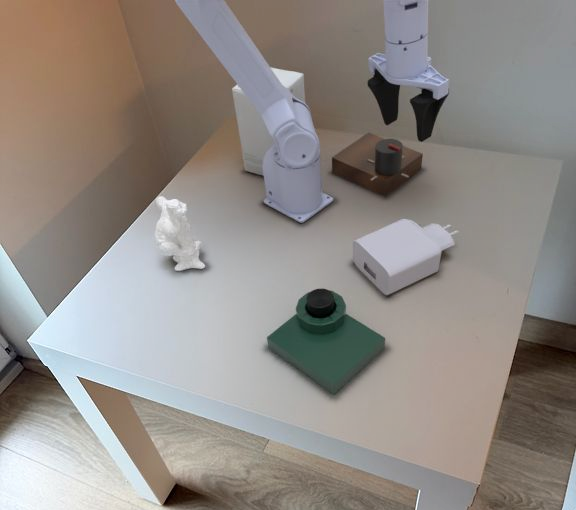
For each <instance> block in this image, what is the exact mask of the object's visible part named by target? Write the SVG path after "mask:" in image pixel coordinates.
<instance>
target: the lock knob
mask: <svg viewBox="0 0 576 510" xmlns="http://www.w3.org/2000/svg"><path fill="white" fill-rule="evenodd" d="M403 146H404V145H403V142H402V141H400V140H398V139H396V138H384V140H381V141H379V142H378V143H377V144H376V146H375V171H376V172H377V173H378V174H380V175H385V176H390V175H394V174H397V173H398V172H399V171H400V170H401V163H402V150H403Z"/></svg>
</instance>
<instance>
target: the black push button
mask: <svg viewBox="0 0 576 510" xmlns="http://www.w3.org/2000/svg"><path fill="white" fill-rule="evenodd" d="M329 290H330V289H327V288H321V287H320V288H315V289H313V290H311V291H309V292H310V293H309V294H308V295H307V298H306V300H307V310H308V313H309V314H310V315H311V316H312V317H314V318H320V319H322V318H326V317H329V316H330V315H331V314H332V313H333V312H334V295H333V293H332V292H331V291H332V290H330V291H329Z"/></svg>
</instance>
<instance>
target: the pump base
mask: <svg viewBox="0 0 576 510" xmlns="http://www.w3.org/2000/svg"><path fill="white" fill-rule="evenodd" d="M328 290H329V291H331V292H332V293H333V295H334V312H333V313H332V314H331V315H330V316H329V317H326V318H322V319H320V318H314V317H312V316H311V315H310V314H309V313H308V310H307V300H306V298H307V295H308V294H309V293H310V292H311V291H308V292H306V293H305V294H304V295H303V296H301V297H300V298H299V299H298V301H297V302H296V306H295V314H294V315H293V316H291V317H290V318H289V319H288V320H286V321H285V322H284V323H283V324H281V325H280V326H278V327H277V329H275V330H273V332H272V333H270V334H269V335H268V336H266V341H267V345H268V348H269V350H270V351H273V353H275V354H277V355H278V356H279V357H281V358H282V359H283V360H285V361H286V362H287V363H289V364H290V365H292V366H293V367H295V368H296V369H298V370H299V371H300V372H301V373H303V374H304V375H306V376H307V377H308V378H310V379H311V380H312V381H314V383H317V384H318V385H320V386H321V387H322V388H324V389H325V390H326V391H328V392H329V393H331V394H332V395H336V394H337V393H338V392H339V391H340V390H341V389H342V388H344V387H345V386H346V385H347V384H348V383H349V382H350V381H352V379H353V378H354V377H356V375H357V374H359V373H360V372H361V371H362V370H363V369H364V368H365V367H366V366H367V365H369V364H370V362H372V361H373V360H374V359H376V357H377V356H378V355H380V353H382V352H383V351H385V348H386V347H385V346H386V337H385V336H383V335H382V334H380V333H378V332H376V331H375V330H373V329H371V328H370V327H369V326H367V325H365V324H363V323H362V322H361V321H359V320H357V319H355V318H354V317H352V316H350V314H348V313H347V304H346V302H345V300H344V298H343V296H342V295H340V294H339V293H337V292H335V291H333V290H330V289H328Z"/></svg>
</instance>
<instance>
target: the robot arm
mask: <svg viewBox="0 0 576 510" xmlns="http://www.w3.org/2000/svg"><path fill="white" fill-rule="evenodd" d="M174 1H175V4H176V5H177V6H178V8H179V9H180V11H181V12H182V13H183V15H184V16H185V17H186V18H187V19H188V21H189V22H190V24H191V25H192V26H193V28H194V29H195V30H196V32H197V33H198V34H199V36H200V37H201V39H203V41H204V42H205V44H207V46H208V47H209V49H210V50H211V51H212V53H213V54H214V56H215V57H216V58H217V60H218V61H219V62H220V64H221V65H222V66H223V67H224V69H225V70H226V71H227V73H228V74H229V75H230V76H231V78H232V79H233V81H234V82H235V84H236V85H237V84H238V86H239V87H240V88H241V90H242V91H243V92H244V94H245V95H246V96H247V98H248V99H249V100H250V102H251V103H252V104H253V106H254V107H255V108H256V110H257V111H258V112H259V113H260V115H261V117H262V119H263V121H264V123H265V125H266V127H267V130H268V132H269V134H270V136H271V137H272V138H273V140H274V141H275V143H276V145H274V146H272V147H271V148H270V149H269V150H268V151H267V153H266V155H265V157H264V160H263V175H264V176H263V175H262V176H263V180H264V187H265V194H266V198H264V199H263V204H265V205H266V206H269V207H271V208H272V209H274V210H276V211H278V212H280V213H281V214H283V215H285V216H287V217H289V218H290V219H293V221H296V222H298V223H300V224H303V223H305V222H306V221H308V220H309V219H310V218H312V217H313V216H314V215H316V214H317V213H319V212H320V211H321V210H323V209H324V208H325V207H327V206H329V204H331V203H332V202H334V197H332V196H330V195H329V194H326V193H325V192H323V186H322V185H323V183H322V167H321V166H322V165H321V150H320V149H321V143H320V139H319V136H318V134H317V133H316V129H315V125H314V123H313V115H312V112H311V109H310V107H309V105H308V104H307V103H306V102H305V103H304V102H303V101H301V100H299V99H297V98H295V97H294V96H293V95H292V94H291V92H290V91H289V89H288V88H286V87H284V86H283V85H282V84H281V82H280V81H279V79H278V78H277V76H276V75H275V74H274V72H273V71H272V69H271V68H272V67H271V66H270V65H269V63H268V62H267V60H266V59H265V58H264V55H263V54H262V53H261V51H260V50H259V49H258V47H257V46H256V44H255V43H254V41H253V40H252V38H251V37H250V36H249V34H248V33H247V31H246V30H245V28H244V26H243V25H242V24H241V22H240V21H239V20H238V18H237V17H236V15H235V14H234V12H233V11H232V9H231V8H230V6H229V5H228V4H227V2H226V1H225V0H174ZM382 2H383V3H382V4H383V24H384V25H383V26H384V27H383V28H384V51H385V53H381V52H377V53H375V54H374V55H371V56H370V57H368V71H369V72H370V73H371V74H372V73H373V76H372V77H370V78H369V79H368V80H367V82H366V83H367V87H368V88H369V90H370V91H371V92H372V94H373V96H374V98H375V100H376V102H377V105H378V107H379V110H380V113H381V116H382V120H383V123H384V125H386V126H390V125H391V124H393V123H394V122H396V121H398V117H399V103H400V102H399V101H400V100H399V97H400V89H401V86H404V87H412V88H417V89H419V90H421V92H420V93H418V94H417V95H415V96H413V97H412V98H410V99H409V104H410V105H411V107H412V110H413V113H414V116H415V118H414V119H415V122H416V123H415V124H416V137H417V140H418V141H419V142H421V143H423V142H425V141H426V140H428V139H430V138H431V137H432V135H433V131H434V127H435V125H436V121H437V118H438V115H439V113H440V110H441V109H442V106H443V104H444V103H445V101H446V100H447V98H448V96H449V94H450V79H449V78H447V77H444V76H442V74H441V73H439V71H438V70H436V69H435V68H434V67H433V66H432V65H431V64H432V57H430V56H428V54H429V51H428V49H429V47H428V45H429V0H382ZM270 67H271V68H270Z"/></svg>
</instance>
